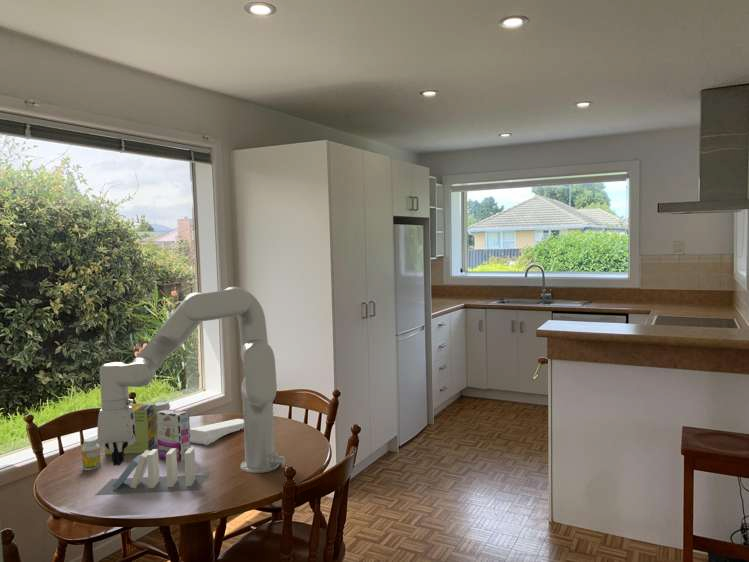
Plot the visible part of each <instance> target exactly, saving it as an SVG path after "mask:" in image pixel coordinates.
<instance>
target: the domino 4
mask: <svg viewBox="0 0 749 562" xmlns="http://www.w3.org/2000/svg"><path fill="white" fill-rule="evenodd" d="M184 455H185V460H184V472H185V473H184V474H185V475H184V476H185V479H186V486H192V484H193V483H194V481H195V480H196V476H195V475H196V457H195V455H196V453H195V447H190V448H188V450H187V451H186V452H185V453H184Z"/></svg>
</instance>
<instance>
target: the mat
mask: <svg viewBox="0 0 749 562" xmlns="http://www.w3.org/2000/svg"><path fill="white" fill-rule="evenodd" d="M195 476H196V480H195V481H194V483H193V484H192V486H186V479H185V475H177V478H178V480H177V482H176V483H175V484H174V486H173V487H167V475H166V476H159V482H158V483H157V485H156V486H155V487H154V488H149V486H148V476H146V477H144V476H143V478H142V481H141V483H140V484H139V485H138V486H137V487H136V488H132V487H130V486H131V483H132V480H133V477H127V479H126V480H125V481H124V482H123V483H122V484H121V485H120V487H119V488H118V489H116V488H114V487H113V485H114V483H115V482H116V481H117V480H118V478H111V479H110V480H109V481H108V482H107V483H106V484H105V485H104V486H103V487H101V489H99V491H97V493H95V495H94V496H103V495H104V496H105V495H108V496H109V495H128V494H146V493H147V494H150V493H151V494H152V493H172V492H194V491H200V490H201V488H202V486H203V485H204V484H205V481H206V480H207V478H208V477H209V474H195Z"/></svg>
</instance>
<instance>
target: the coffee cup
mask: <svg viewBox="0 0 749 562" xmlns="http://www.w3.org/2000/svg"><path fill="white" fill-rule="evenodd" d="M150 403H155V408H156V412H159V411H162V410H165V409H171V405H170V403H169V401H167V400H158V401H152V402H150ZM156 428H157V416H156Z"/></svg>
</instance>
